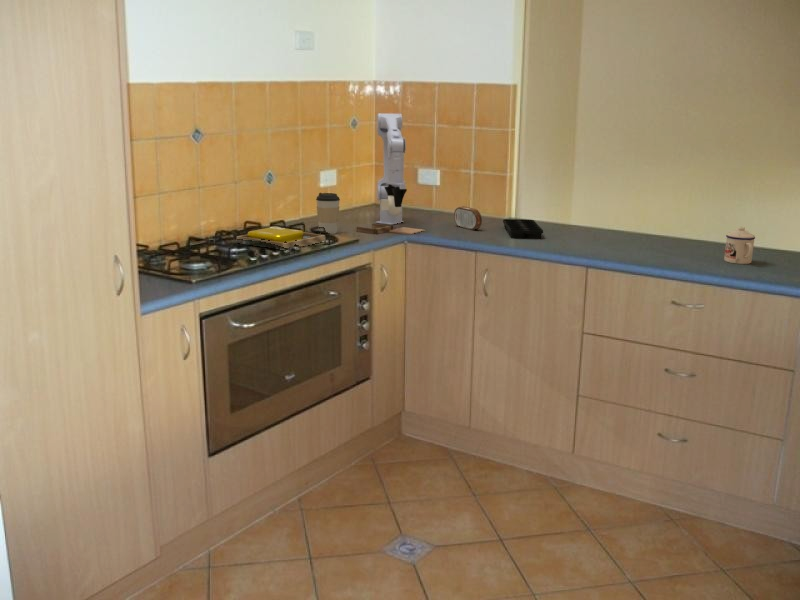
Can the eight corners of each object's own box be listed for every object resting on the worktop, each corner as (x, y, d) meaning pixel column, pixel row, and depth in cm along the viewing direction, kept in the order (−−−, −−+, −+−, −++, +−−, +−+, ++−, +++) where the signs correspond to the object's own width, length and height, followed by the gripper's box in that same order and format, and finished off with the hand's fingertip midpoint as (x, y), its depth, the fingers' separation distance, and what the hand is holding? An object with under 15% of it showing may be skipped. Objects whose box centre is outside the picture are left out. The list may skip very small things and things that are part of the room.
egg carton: (512, 240, 322) (513, 231, 321) (489, 227, 351) (489, 218, 350) (557, 240, 326) (557, 230, 325) (530, 227, 354) (530, 218, 353)
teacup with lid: (718, 259, 294) (722, 225, 291) (742, 258, 295) (746, 225, 292) (736, 266, 282) (741, 231, 279) (762, 266, 284) (766, 230, 281)
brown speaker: (482, 231, 340) (482, 209, 338) (475, 231, 339) (476, 210, 337) (458, 225, 352) (459, 204, 350) (452, 226, 351) (453, 205, 349)
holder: (373, 227, 341) (373, 223, 341) (392, 230, 336) (392, 225, 336) (356, 231, 332) (356, 226, 332) (376, 234, 327) (376, 229, 327)
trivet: (403, 228, 341) (403, 227, 341) (424, 231, 336) (424, 229, 336) (389, 231, 333) (389, 230, 333) (411, 234, 328) (411, 233, 328)
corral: (278, 235, 320) (278, 228, 319) (325, 242, 308) (325, 235, 308) (236, 243, 302) (236, 236, 301) (285, 251, 290) (284, 243, 290)
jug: (383, 215, 329) (383, 197, 327) (379, 213, 333) (379, 195, 331) (402, 214, 331) (402, 196, 329) (398, 212, 336) (398, 194, 334)
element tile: (245, 243, 304) (245, 230, 303) (273, 238, 316) (273, 225, 315) (278, 248, 296) (278, 235, 295) (305, 242, 309) (305, 229, 308)
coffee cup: (341, 231, 332) (341, 192, 329) (337, 234, 324) (337, 194, 320) (318, 230, 333) (318, 191, 330) (313, 234, 325) (313, 194, 321)
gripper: (413, 171, 323) (412, 208, 327) (398, 168, 336) (397, 203, 340) (395, 172, 321) (395, 208, 324) (381, 168, 334) (381, 203, 337)
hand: (395, 205), depth 332 cm, fingers closed on jug, 5 cm apart
